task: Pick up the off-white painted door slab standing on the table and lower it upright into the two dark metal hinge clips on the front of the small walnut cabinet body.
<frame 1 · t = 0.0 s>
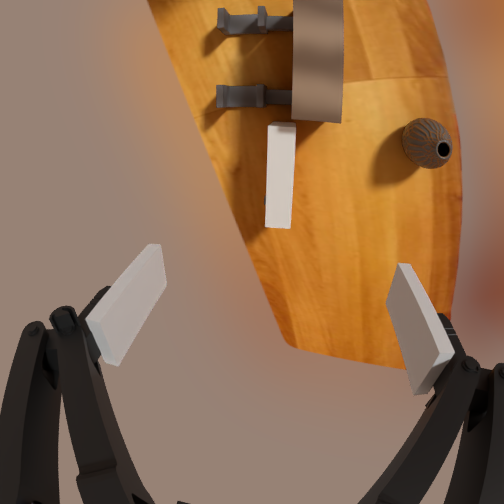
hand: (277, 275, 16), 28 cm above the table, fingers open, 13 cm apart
cabinet: (312, 61, 32), on the table
door: (282, 163, 40), on the table
vase: (416, 139, 35), on the table
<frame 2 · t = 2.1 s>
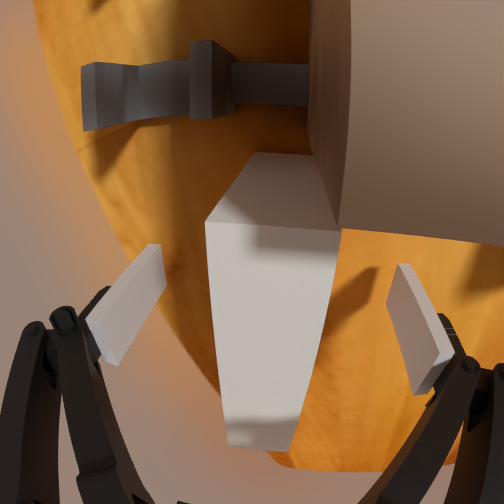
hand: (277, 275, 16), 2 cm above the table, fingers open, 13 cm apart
door: (279, 257, 17), on the table
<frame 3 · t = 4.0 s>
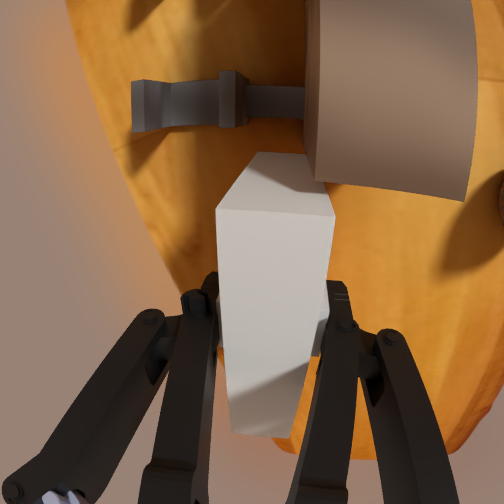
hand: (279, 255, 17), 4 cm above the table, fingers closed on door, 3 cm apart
cabinet: (344, 29, 14), on the table
door: (280, 251, 18), point 3 cm above the table, touching gripper
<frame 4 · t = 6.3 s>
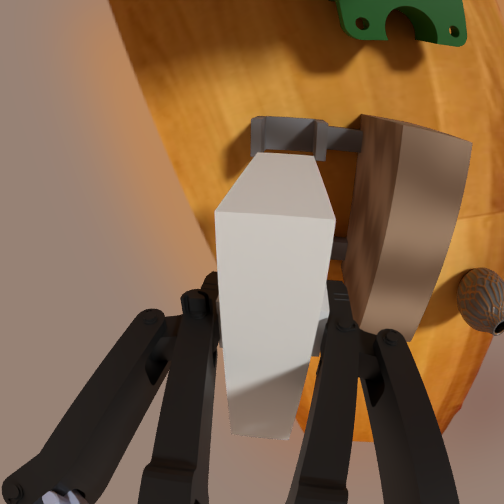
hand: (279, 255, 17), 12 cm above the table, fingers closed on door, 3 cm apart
cabinet: (376, 198, 26), on the table
clamp: (387, 15, 17), on the table
door: (280, 252, 18), point 11 cm above the table, touching gripper
vase: (470, 281, 29), on the table
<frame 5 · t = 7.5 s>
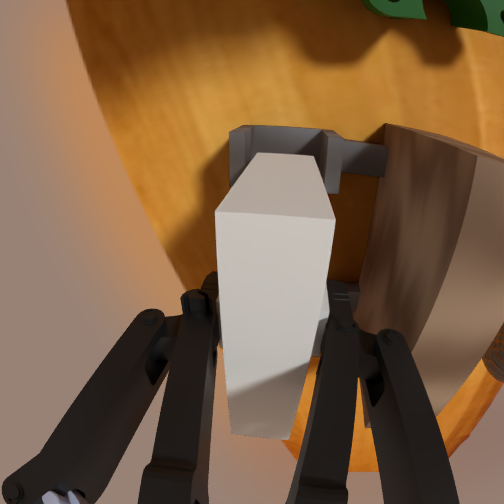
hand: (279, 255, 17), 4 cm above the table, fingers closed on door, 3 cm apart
cabinet: (399, 235, 20), on the table
door: (280, 252, 18), point 4 cm above the table, touching gripper
vase: (495, 322, 23), on the table
when the fingers open (0 cm above the table, at t = 8.4 s): door stays where it is, resting on cabinet.
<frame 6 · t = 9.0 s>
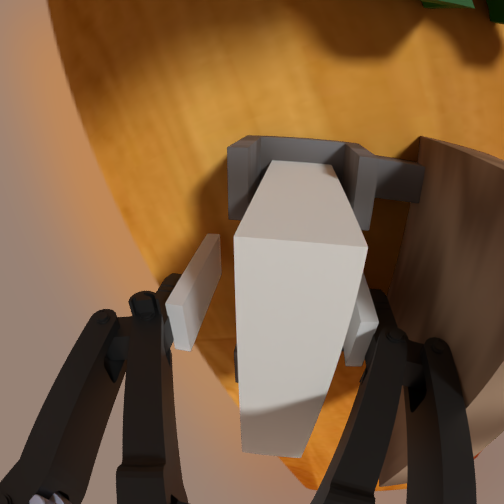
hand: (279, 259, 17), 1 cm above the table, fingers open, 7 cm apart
cabinet: (429, 268, 16), on the table
door: (294, 265, 17), point 1 cm above the table, touching cabinet
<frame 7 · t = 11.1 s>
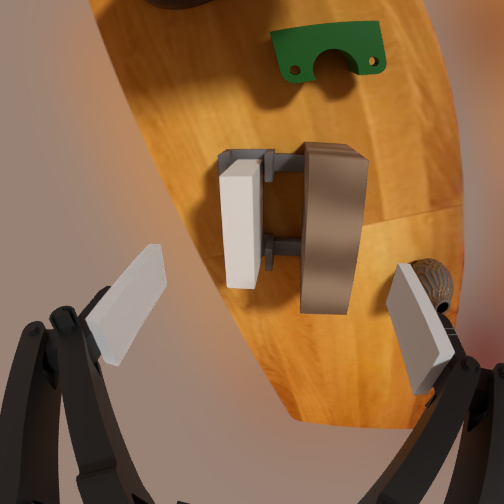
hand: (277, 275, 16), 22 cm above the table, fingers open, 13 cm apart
cabinet: (322, 206, 36), on the table
clamp: (324, 53, 27), on the table
door: (251, 206, 36), point 1 cm above the table, touching cabinet
vase: (420, 271, 38), on the table
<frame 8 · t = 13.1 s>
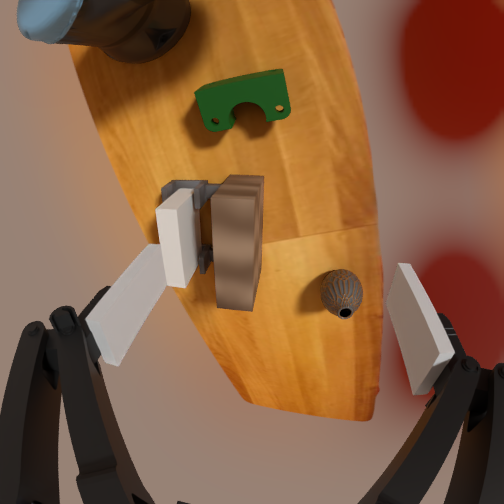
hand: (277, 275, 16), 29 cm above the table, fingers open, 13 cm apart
cabinet: (246, 224, 46), on the table
clamp: (248, 99, 37), on the table
door: (191, 224, 47), point 1 cm above the table, touching cabinet
vase: (339, 279, 49), on the table
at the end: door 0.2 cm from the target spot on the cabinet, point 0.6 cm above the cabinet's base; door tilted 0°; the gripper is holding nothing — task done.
